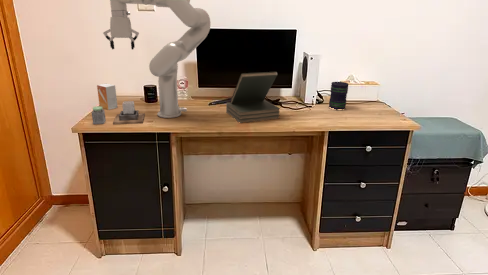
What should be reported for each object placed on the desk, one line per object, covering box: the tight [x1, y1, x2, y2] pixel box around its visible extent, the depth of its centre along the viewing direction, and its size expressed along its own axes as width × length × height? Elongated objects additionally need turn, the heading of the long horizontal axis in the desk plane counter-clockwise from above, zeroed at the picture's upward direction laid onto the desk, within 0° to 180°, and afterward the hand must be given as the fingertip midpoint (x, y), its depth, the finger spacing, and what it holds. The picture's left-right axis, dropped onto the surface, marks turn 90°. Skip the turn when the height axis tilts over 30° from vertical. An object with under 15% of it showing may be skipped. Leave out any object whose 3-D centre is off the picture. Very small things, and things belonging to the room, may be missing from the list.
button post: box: [91, 108, 107, 125], centre depth 170 cm, size 5×5×6 cm
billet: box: [122, 100, 135, 115], centre depth 175 cm, size 5×5×8 cm
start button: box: [92, 105, 104, 112], centre depth 170 cm, size 4×4×7 cm
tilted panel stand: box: [225, 71, 280, 124], centre depth 183 cm, size 23×20×25 cm
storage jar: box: [328, 81, 349, 109], centre depth 203 cm, size 10×10×15 cm
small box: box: [96, 83, 118, 111], centre depth 194 cm, size 8×6×13 cm
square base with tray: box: [112, 110, 146, 125], centre depth 176 cm, size 14×14×4 cm
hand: (122, 49), depth 179 cm, fingers open, 9 cm apart
